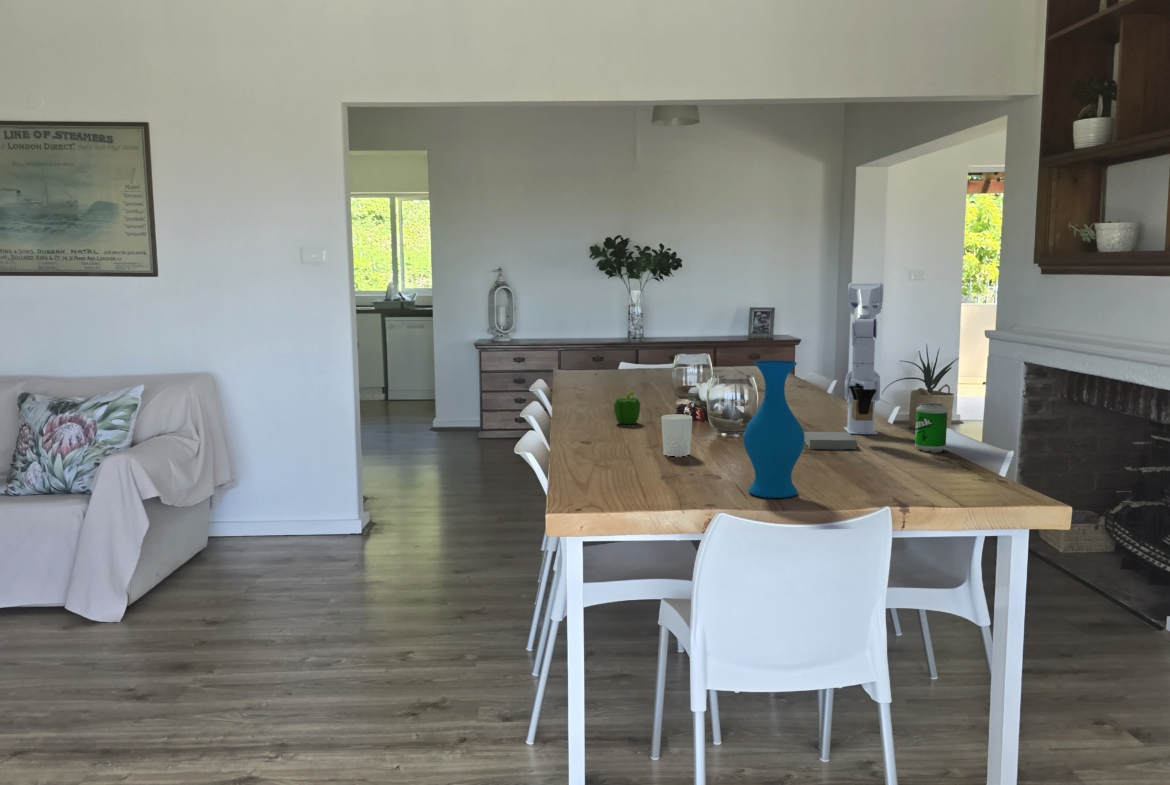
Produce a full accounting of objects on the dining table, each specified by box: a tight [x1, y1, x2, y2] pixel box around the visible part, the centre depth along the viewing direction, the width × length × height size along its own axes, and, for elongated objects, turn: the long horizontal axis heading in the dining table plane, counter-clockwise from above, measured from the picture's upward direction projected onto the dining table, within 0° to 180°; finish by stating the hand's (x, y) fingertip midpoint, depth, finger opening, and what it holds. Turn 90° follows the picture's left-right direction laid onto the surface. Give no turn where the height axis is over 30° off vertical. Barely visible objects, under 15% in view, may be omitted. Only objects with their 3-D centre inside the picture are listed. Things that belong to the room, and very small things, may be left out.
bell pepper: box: [613, 391, 641, 425], centre depth 273 cm, size 8×8×10 cm
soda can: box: [914, 402, 948, 453], centre depth 228 cm, size 8×8×12 cm
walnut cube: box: [852, 400, 873, 421], centre depth 237 cm, size 4×4×5 cm
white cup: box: [660, 413, 693, 458], centre depth 225 cm, size 8×8×10 cm
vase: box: [743, 360, 805, 499], centre depth 183 cm, size 12×13×28 cm
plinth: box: [803, 431, 858, 450], centre depth 237 cm, size 12×12×2 cm
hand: (861, 412), depth 238 cm, fingers closed on walnut cube, 4 cm apart
